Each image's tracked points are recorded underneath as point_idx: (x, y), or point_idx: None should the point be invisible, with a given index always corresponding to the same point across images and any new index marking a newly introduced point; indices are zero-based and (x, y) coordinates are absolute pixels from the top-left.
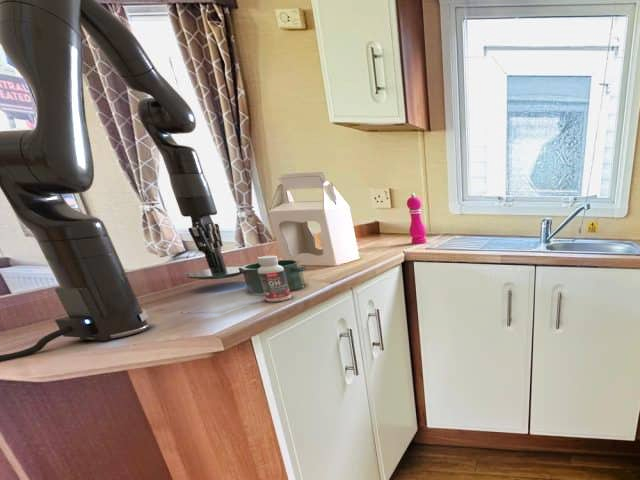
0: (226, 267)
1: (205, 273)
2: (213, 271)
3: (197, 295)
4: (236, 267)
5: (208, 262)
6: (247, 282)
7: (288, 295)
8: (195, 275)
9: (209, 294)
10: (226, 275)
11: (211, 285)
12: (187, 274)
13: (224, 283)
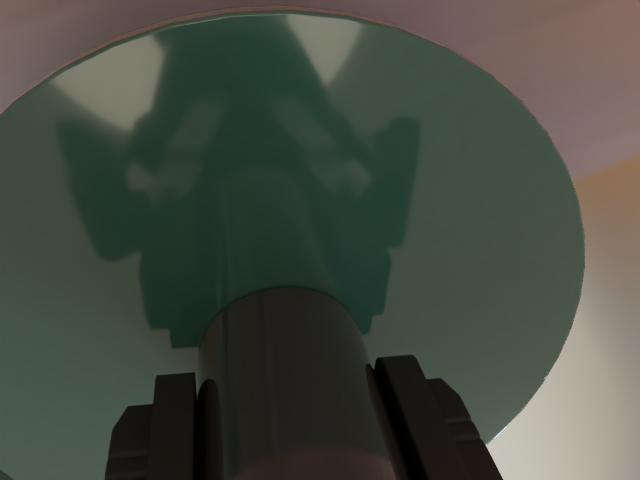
0: (552, 327)
1: (182, 260)
2: (199, 344)
3: (45, 70)
4: (476, 414)
5: (110, 454)
6: None
7: None
8: (43, 192)
9: None
10: (15, 473)
11: (561, 46)
12: (195, 31)
13: (576, 149)
